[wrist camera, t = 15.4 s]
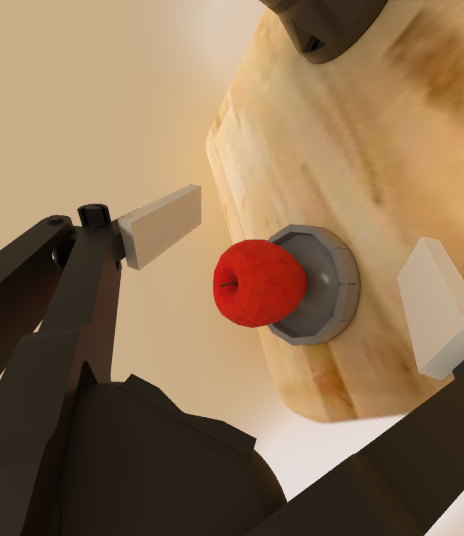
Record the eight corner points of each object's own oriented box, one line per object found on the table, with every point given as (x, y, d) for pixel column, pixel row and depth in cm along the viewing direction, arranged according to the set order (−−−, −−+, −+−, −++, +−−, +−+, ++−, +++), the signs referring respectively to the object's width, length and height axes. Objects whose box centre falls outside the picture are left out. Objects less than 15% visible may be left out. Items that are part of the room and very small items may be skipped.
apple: (272, 244, 42) (202, 236, 34) (332, 243, 32) (251, 232, 24) (267, 311, 42) (197, 317, 35) (325, 331, 32) (244, 346, 25)
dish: (257, 254, 47) (244, 253, 45) (338, 206, 32) (324, 202, 30) (274, 345, 42) (260, 347, 40) (379, 336, 27) (364, 340, 26)
